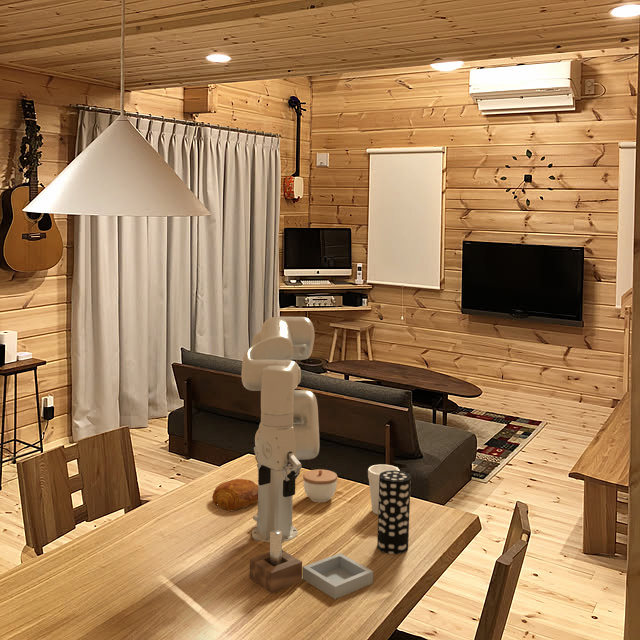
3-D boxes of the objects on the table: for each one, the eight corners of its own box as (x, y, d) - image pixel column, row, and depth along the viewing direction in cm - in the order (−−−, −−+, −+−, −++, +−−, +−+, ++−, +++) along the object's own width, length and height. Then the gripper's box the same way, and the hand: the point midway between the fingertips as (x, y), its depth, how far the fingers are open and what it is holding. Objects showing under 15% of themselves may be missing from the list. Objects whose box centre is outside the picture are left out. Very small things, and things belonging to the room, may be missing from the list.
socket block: (249, 582, 173) (249, 558, 172) (279, 571, 179) (279, 548, 178) (271, 597, 166) (271, 573, 165) (301, 585, 172) (302, 561, 171)
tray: (302, 582, 173) (302, 566, 173) (339, 567, 181) (340, 552, 180) (334, 603, 164) (335, 586, 163) (372, 586, 172) (373, 571, 171)
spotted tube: (406, 555, 188) (409, 482, 185) (375, 552, 190) (377, 479, 187) (409, 542, 196) (411, 472, 193) (379, 538, 198) (381, 469, 195)
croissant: (269, 508, 223) (272, 483, 223) (231, 516, 211) (235, 489, 211) (238, 494, 233) (241, 470, 232) (200, 501, 221) (204, 476, 220)
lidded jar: (299, 493, 229) (300, 465, 228) (331, 491, 232) (332, 463, 231) (307, 506, 219) (307, 477, 218) (340, 503, 222) (341, 474, 220)
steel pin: (267, 579, 172) (267, 532, 171) (276, 575, 174) (277, 529, 172) (274, 583, 170) (274, 536, 169) (283, 580, 172) (284, 533, 170)
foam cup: (377, 519, 211) (378, 477, 209) (361, 508, 219) (362, 467, 217) (404, 513, 215) (405, 472, 213) (387, 502, 223) (388, 462, 221)
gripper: (243, 413, 171) (242, 483, 173) (286, 429, 158) (285, 504, 160) (268, 409, 175) (268, 476, 178) (313, 424, 162) (312, 497, 164)
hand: (276, 489), depth 169 cm, fingers open, 9 cm apart
